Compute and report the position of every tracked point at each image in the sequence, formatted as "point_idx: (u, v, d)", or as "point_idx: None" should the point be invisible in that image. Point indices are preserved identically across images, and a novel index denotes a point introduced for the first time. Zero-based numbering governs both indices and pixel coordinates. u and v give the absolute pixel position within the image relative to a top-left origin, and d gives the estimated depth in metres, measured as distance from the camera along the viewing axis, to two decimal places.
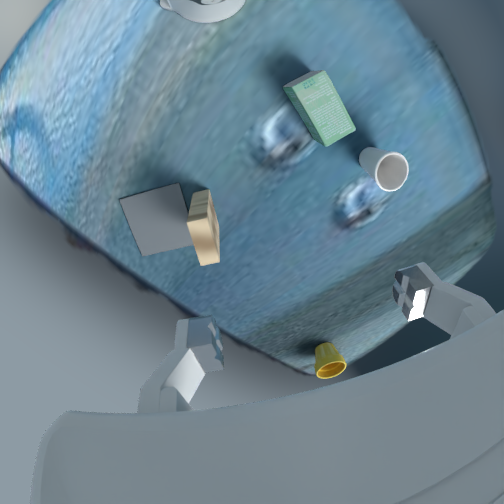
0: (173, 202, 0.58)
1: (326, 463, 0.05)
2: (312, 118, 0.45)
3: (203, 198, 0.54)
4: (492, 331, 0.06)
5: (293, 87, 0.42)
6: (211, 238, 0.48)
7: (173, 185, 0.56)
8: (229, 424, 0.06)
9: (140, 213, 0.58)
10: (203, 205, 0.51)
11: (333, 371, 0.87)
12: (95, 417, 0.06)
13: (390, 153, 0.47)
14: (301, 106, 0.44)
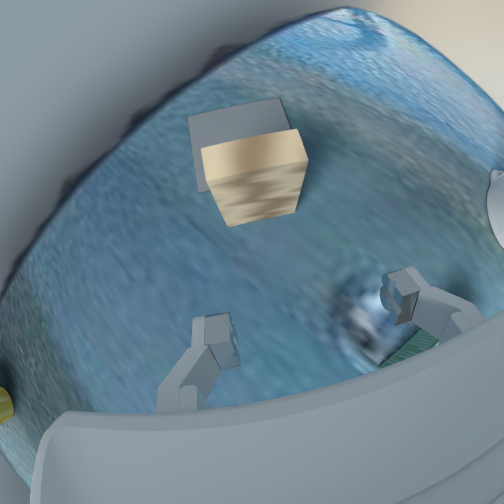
0: None
1: (326, 463, 0.05)
2: None
3: None
4: (492, 331, 0.06)
5: None
6: (263, 166, 0.23)
7: None
8: (229, 424, 0.06)
9: (257, 118, 0.40)
10: None
11: None
12: (95, 417, 0.06)
13: None
14: None
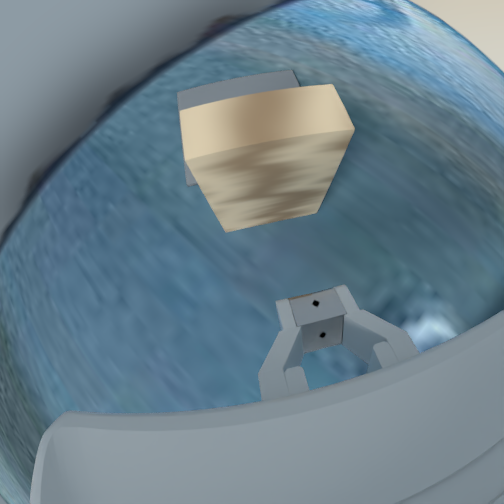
0: None
1: (326, 463, 0.05)
2: None
3: None
4: (492, 331, 0.06)
5: None
6: (282, 135, 0.13)
7: None
8: (229, 424, 0.06)
9: None
10: None
11: None
12: (95, 417, 0.06)
13: None
14: None
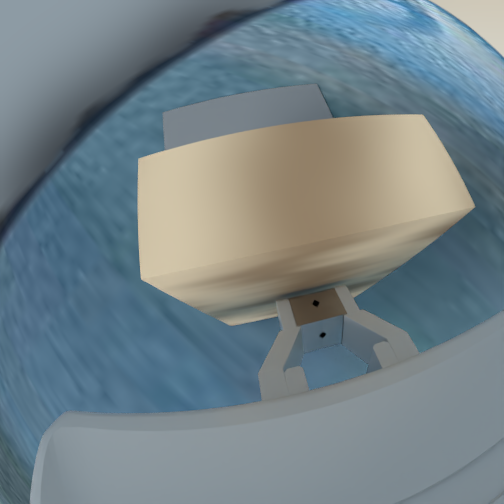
0: None
1: (326, 462, 0.05)
2: None
3: None
4: (492, 331, 0.06)
5: None
6: (358, 223, 0.06)
7: None
8: (229, 424, 0.06)
9: (283, 115, 0.22)
10: None
11: None
12: (95, 417, 0.06)
13: None
14: None
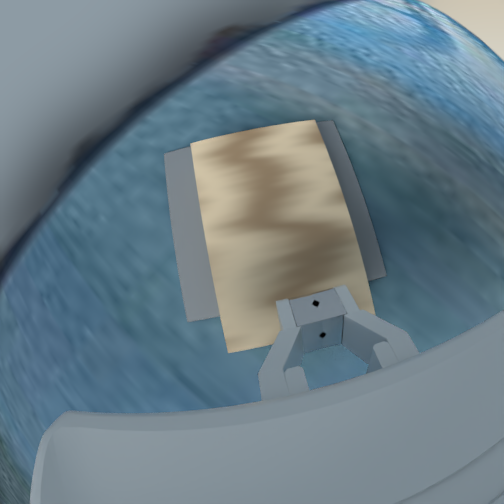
0: None
1: (326, 463, 0.05)
2: None
3: None
4: (492, 331, 0.06)
5: None
6: None
7: (380, 260, 0.20)
8: (229, 424, 0.06)
9: None
10: None
11: None
12: (95, 417, 0.06)
13: None
14: None
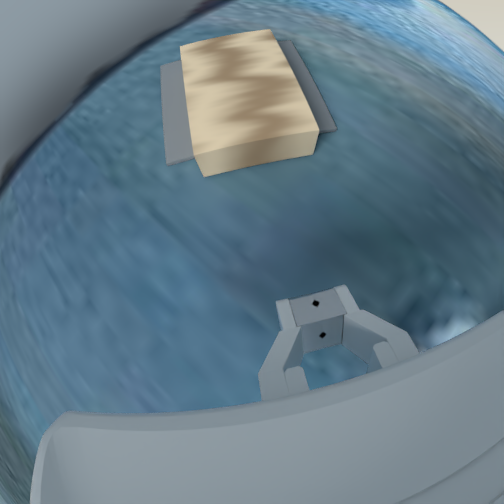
0: None
1: (326, 463, 0.05)
2: None
3: None
4: (492, 331, 0.06)
5: None
6: None
7: (329, 118, 0.22)
8: (229, 423, 0.06)
9: None
10: None
11: None
12: (95, 417, 0.06)
13: None
14: None
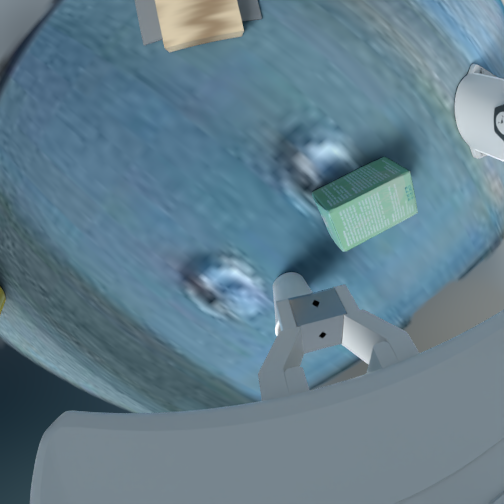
0: None
1: (326, 463, 0.05)
2: (369, 193, 0.33)
3: None
4: (492, 331, 0.06)
5: (409, 173, 0.32)
6: None
7: (258, 10, 0.25)
8: (229, 424, 0.06)
9: None
10: None
11: None
12: (95, 417, 0.06)
13: None
14: (382, 179, 0.33)
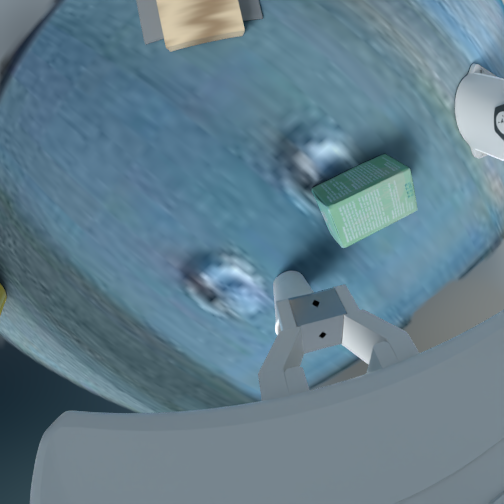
0: None
1: (326, 463, 0.05)
2: (369, 189, 0.33)
3: None
4: (492, 331, 0.06)
5: (409, 170, 0.32)
6: None
7: (259, 10, 0.25)
8: (229, 423, 0.06)
9: None
10: None
11: None
12: (95, 417, 0.06)
13: None
14: (382, 176, 0.33)
